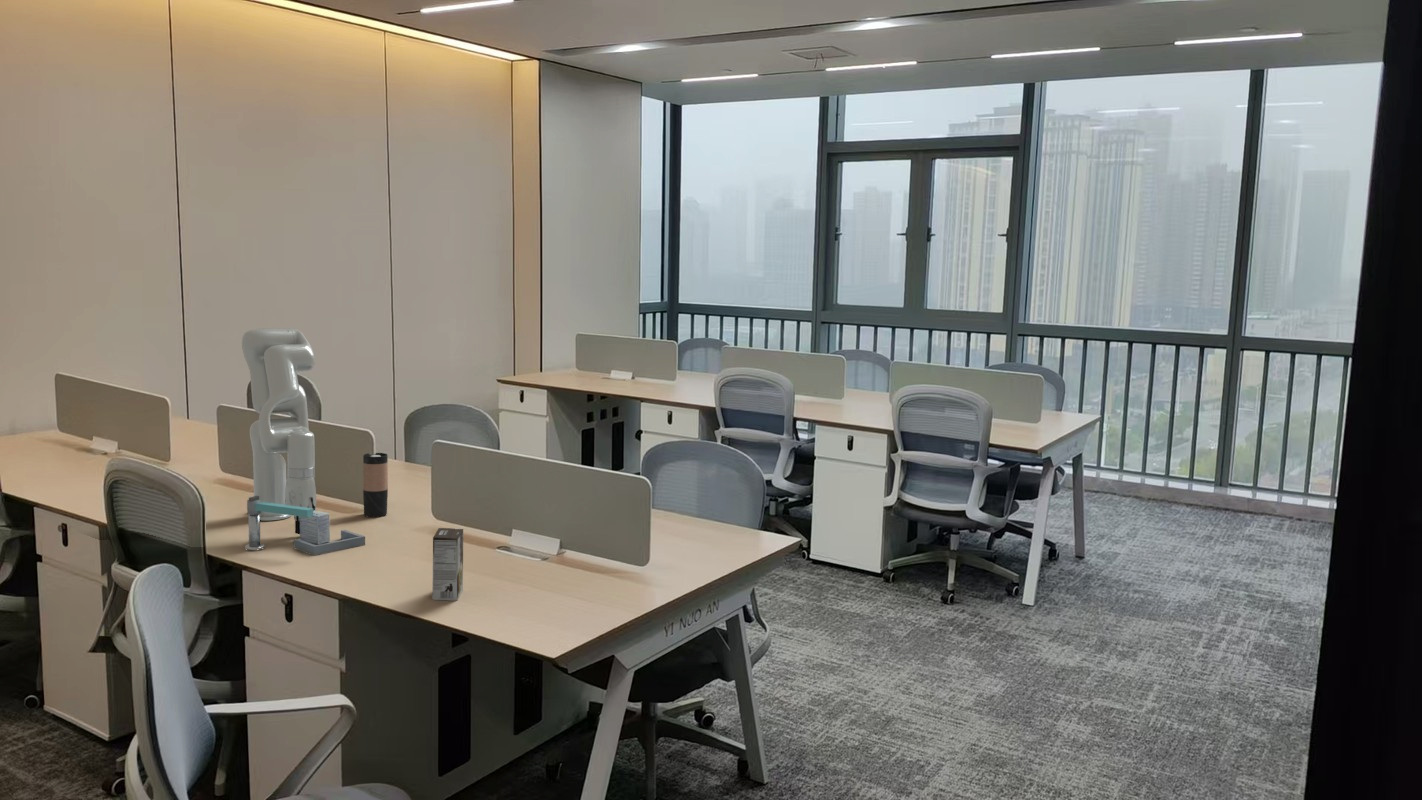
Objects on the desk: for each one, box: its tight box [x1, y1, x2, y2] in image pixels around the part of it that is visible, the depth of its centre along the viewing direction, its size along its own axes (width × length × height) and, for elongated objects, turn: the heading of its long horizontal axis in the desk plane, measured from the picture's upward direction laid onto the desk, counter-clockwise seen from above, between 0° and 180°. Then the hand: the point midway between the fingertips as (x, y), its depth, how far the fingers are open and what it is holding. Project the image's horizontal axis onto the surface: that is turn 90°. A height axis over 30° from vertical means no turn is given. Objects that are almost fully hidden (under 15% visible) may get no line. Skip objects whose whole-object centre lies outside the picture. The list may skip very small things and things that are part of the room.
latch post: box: [244, 514, 265, 551], centre depth 290 cm, size 5×5×10 cm
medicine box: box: [299, 509, 331, 545], centre depth 300 cm, size 8×4×9 cm, turn 61°
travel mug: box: [362, 452, 389, 518], centre depth 333 cm, size 8×8×20 cm
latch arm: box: [246, 495, 313, 517], centre depth 286 cm, size 4×21×5 cm, turn 72°
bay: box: [293, 529, 366, 556], centre depth 296 cm, size 10×16×2 cm, turn 142°
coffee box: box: [432, 527, 464, 601], centre depth 256 cm, size 9×6×16 cm
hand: (301, 532), depth 305 cm, fingers closed
